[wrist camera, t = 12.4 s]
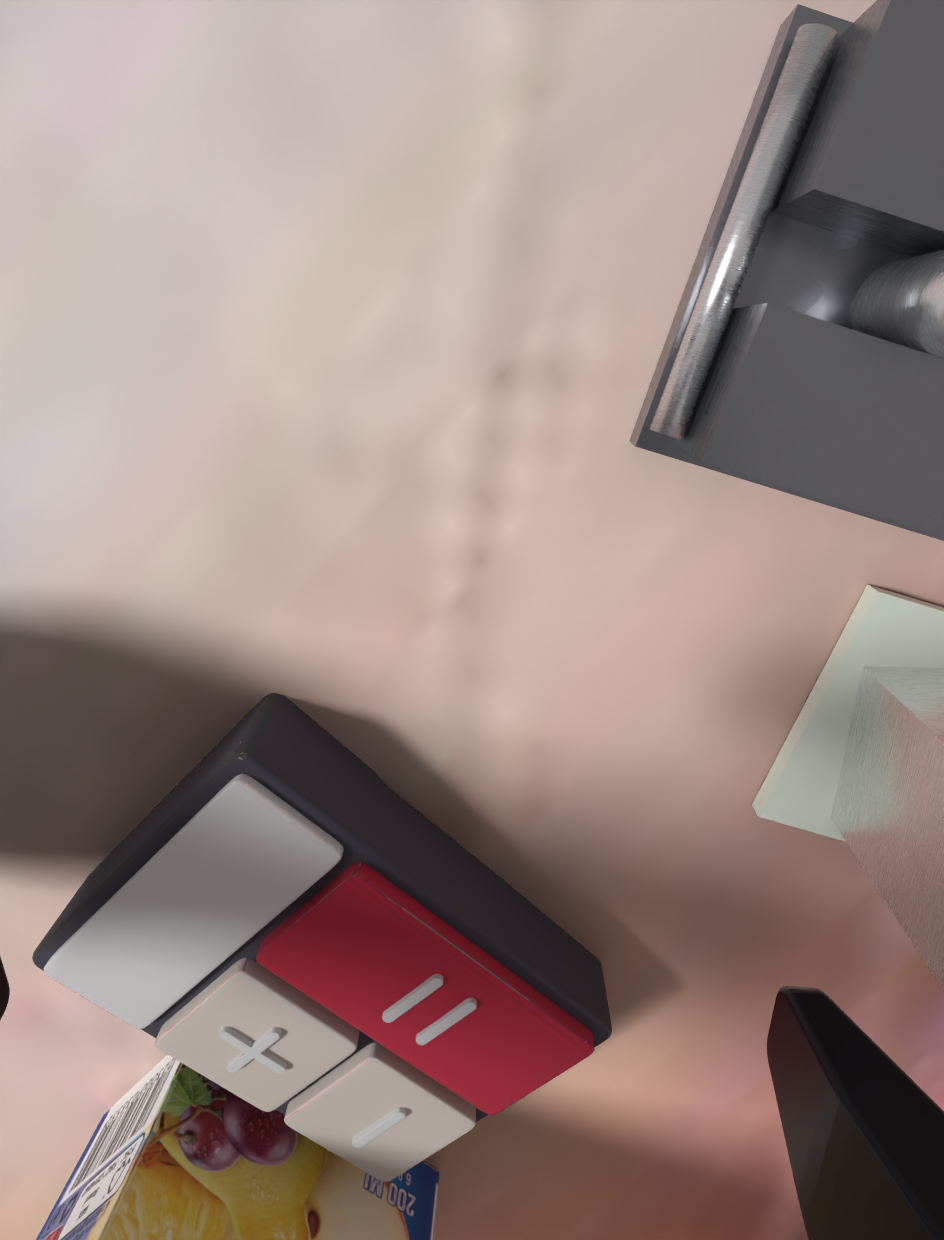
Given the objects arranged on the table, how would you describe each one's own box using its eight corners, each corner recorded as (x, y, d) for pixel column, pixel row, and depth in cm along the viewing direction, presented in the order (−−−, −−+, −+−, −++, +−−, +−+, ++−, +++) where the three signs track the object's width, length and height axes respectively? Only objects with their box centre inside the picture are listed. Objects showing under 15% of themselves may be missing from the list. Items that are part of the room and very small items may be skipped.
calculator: (385, 1204, 25) (7, 983, 21) (400, 1083, 29) (83, 878, 25) (623, 1058, 22) (227, 765, 18) (603, 943, 26) (275, 683, 22)
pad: (751, 804, 22) (757, 816, 22) (867, 584, 19) (878, 591, 19) (976, 869, 22) (988, 882, 22) (1121, 660, 20) (1139, 670, 19)
